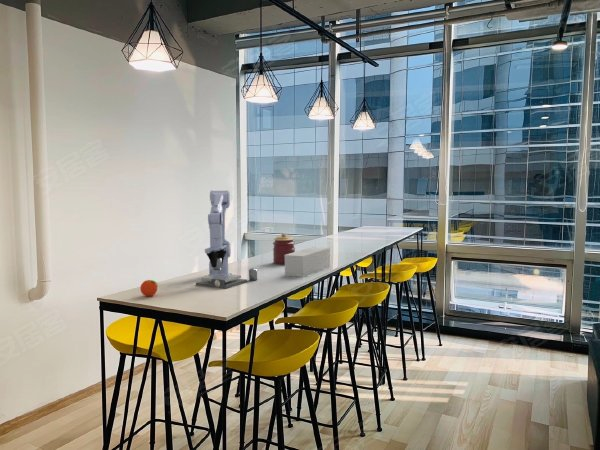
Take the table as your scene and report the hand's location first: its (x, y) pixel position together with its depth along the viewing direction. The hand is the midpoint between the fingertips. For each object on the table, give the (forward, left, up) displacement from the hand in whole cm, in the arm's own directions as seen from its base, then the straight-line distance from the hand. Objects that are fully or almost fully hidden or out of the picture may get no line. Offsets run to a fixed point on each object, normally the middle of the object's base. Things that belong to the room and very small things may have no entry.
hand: (217, 266), depth 227 cm
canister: (0, +61, -8) cm, 62 cm away
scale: (+3, -1, -8) cm, 9 cm away
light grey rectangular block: (+25, +45, -8) cm, 52 cm away
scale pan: (+3, -1, -6) cm, 7 cm away
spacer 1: (0, 0, -2) cm, 2 cm away
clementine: (-9, -34, -8) cm, 36 cm away
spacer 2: (+12, +12, -8) cm, 19 cm away
